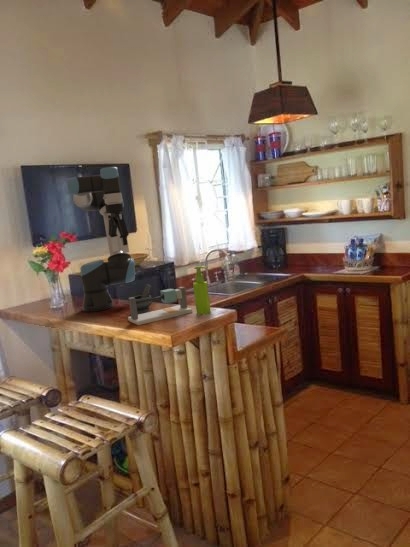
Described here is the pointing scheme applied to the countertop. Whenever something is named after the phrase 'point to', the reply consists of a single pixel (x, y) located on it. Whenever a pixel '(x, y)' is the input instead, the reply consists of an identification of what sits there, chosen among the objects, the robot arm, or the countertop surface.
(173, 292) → the marker sleeve
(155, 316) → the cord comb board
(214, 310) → the countertop surface
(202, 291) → the soap dispenser
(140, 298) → the mortar and pestle
